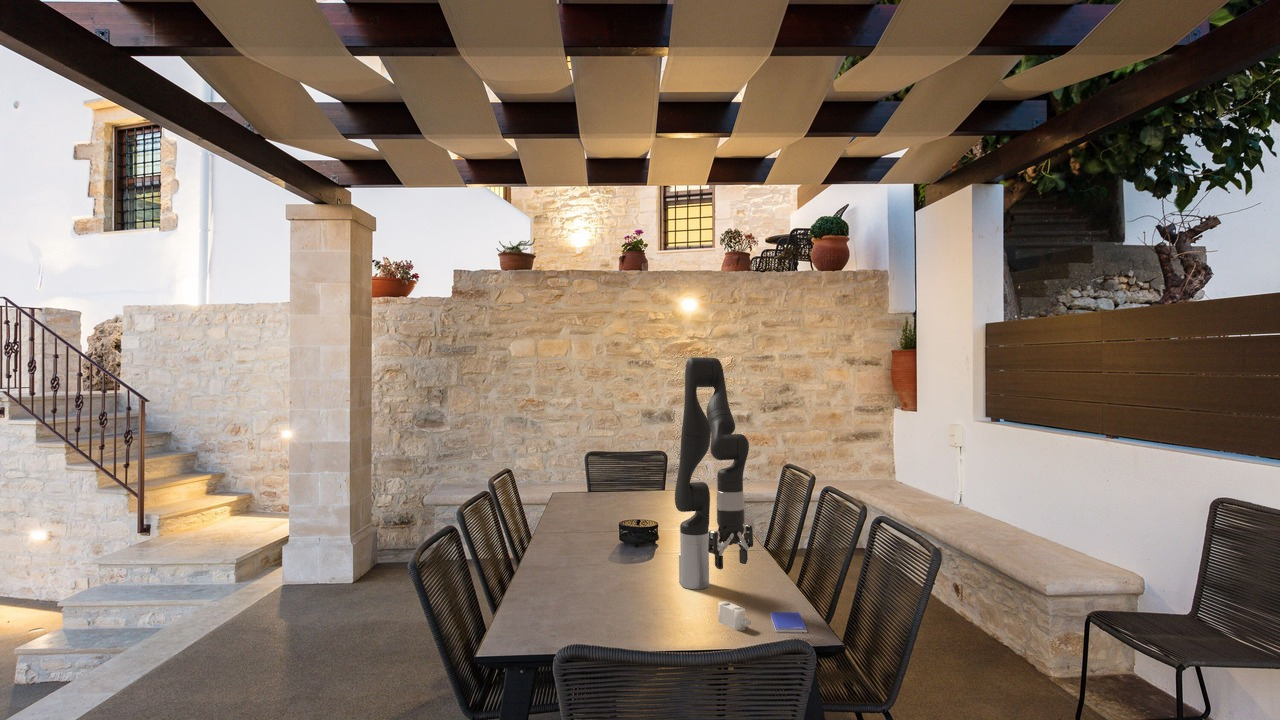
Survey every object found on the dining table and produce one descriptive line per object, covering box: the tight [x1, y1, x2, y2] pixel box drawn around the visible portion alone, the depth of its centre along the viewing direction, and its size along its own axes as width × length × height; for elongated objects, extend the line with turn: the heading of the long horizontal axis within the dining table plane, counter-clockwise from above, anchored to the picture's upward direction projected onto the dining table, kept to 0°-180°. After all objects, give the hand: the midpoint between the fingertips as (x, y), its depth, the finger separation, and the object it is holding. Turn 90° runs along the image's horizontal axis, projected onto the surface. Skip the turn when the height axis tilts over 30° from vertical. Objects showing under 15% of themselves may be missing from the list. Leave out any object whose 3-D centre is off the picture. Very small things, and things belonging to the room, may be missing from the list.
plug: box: [717, 601, 752, 632], centre depth 189 cm, size 11×3×5 cm, turn 34°
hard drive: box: [770, 611, 808, 634], centre depth 191 cm, size 2×8×12 cm
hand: (731, 566), depth 190 cm, fingers open, 8 cm apart
